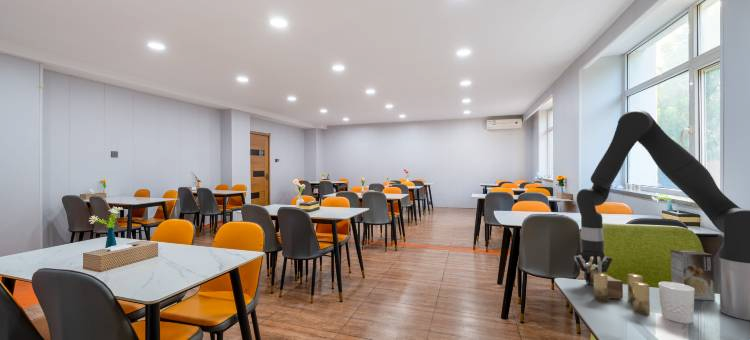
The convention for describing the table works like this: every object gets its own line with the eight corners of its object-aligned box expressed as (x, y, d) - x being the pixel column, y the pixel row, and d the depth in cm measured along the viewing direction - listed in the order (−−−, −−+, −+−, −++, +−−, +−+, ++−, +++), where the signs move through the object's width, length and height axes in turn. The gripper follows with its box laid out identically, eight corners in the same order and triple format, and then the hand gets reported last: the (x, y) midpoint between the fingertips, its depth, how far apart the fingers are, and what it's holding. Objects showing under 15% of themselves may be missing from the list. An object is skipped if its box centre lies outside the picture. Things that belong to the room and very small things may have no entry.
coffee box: (700, 294, 113) (699, 250, 114) (715, 301, 107) (714, 254, 108) (671, 292, 115) (670, 249, 116) (684, 299, 109) (682, 253, 110)
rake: (582, 282, 126) (582, 267, 126) (596, 282, 125) (595, 267, 125) (607, 297, 110) (607, 280, 110) (622, 298, 109) (622, 281, 109)
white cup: (703, 326, 90) (702, 291, 90) (671, 323, 91) (670, 289, 91) (682, 314, 97) (681, 282, 98) (653, 312, 99) (652, 280, 99)
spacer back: (643, 310, 100) (643, 282, 101) (653, 315, 96) (652, 286, 97) (630, 309, 101) (629, 281, 101) (639, 314, 97) (638, 285, 97)
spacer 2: (637, 299, 109) (637, 274, 109) (646, 304, 105) (645, 277, 105) (625, 299, 109) (624, 273, 110) (633, 303, 105) (632, 277, 106)
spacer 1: (603, 298, 110) (603, 272, 110) (610, 302, 106) (610, 276, 106) (591, 297, 111) (591, 272, 111) (598, 302, 107) (597, 276, 107)
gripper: (578, 240, 120) (578, 284, 120) (617, 240, 119) (618, 285, 118) (568, 236, 128) (569, 278, 128) (605, 237, 126) (606, 279, 126)
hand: (592, 281), depth 123 cm, fingers closed on rake, 3 cm apart
